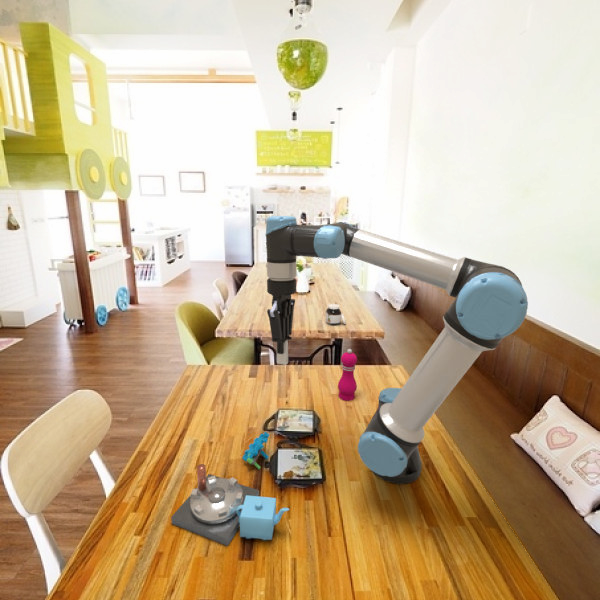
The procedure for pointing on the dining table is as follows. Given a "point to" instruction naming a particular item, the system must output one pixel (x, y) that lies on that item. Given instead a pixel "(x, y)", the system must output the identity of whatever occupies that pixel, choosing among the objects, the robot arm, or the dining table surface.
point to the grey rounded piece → (215, 498)
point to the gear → (256, 450)
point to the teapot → (258, 517)
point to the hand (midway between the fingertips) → (282, 363)
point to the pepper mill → (347, 376)
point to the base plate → (211, 531)
